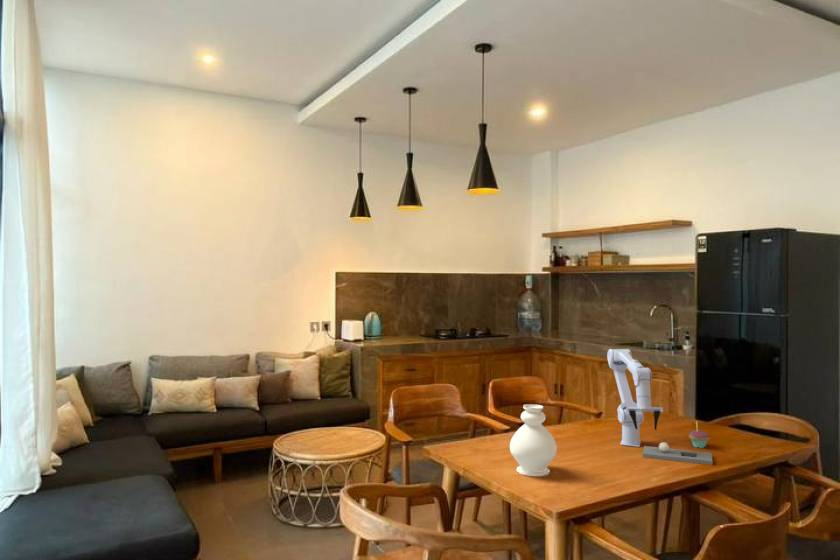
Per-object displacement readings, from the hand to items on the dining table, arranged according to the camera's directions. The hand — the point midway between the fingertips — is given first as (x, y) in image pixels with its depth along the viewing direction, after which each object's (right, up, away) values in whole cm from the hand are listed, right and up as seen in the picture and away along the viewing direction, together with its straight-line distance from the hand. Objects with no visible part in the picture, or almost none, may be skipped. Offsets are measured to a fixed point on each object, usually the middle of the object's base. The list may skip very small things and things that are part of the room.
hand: (645, 429), depth 248 cm
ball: (+7, -7, -1) cm, 10 cm away
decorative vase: (-52, -11, -21) cm, 57 cm away
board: (+12, -11, -3) cm, 16 cm away
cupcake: (+28, -11, +12) cm, 32 cm away
